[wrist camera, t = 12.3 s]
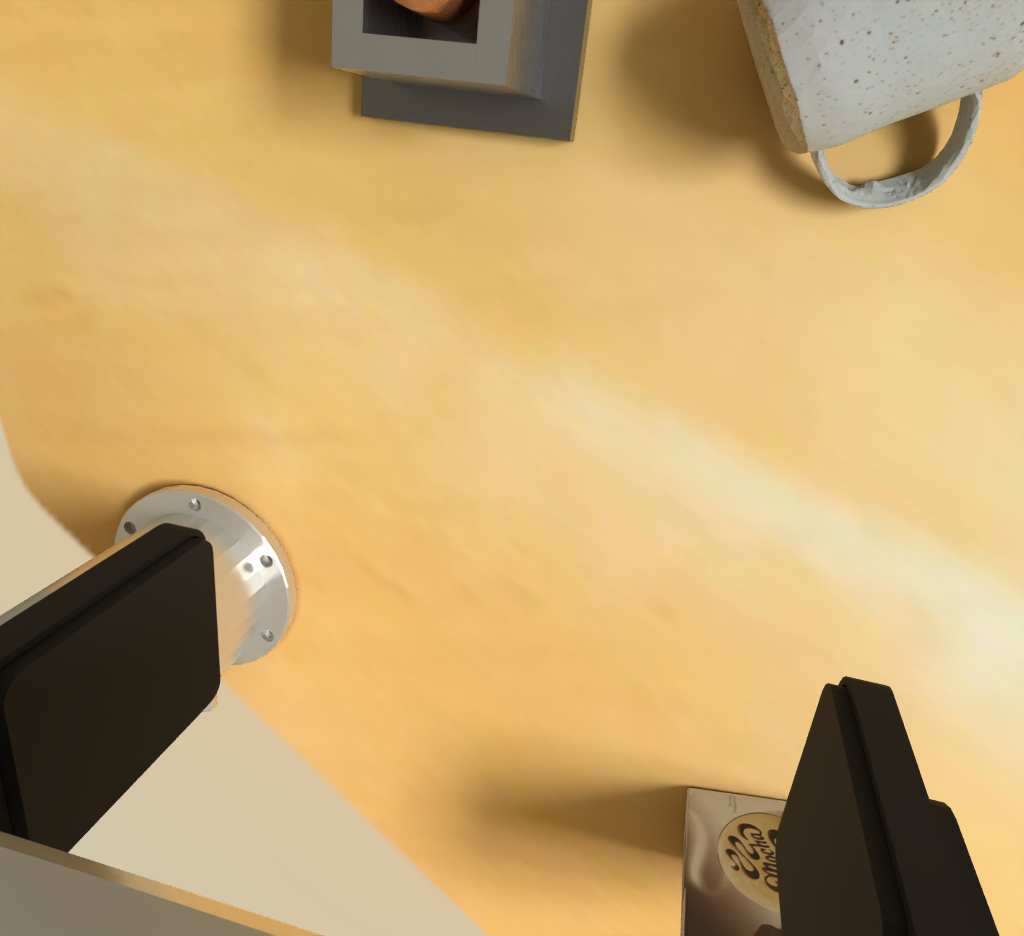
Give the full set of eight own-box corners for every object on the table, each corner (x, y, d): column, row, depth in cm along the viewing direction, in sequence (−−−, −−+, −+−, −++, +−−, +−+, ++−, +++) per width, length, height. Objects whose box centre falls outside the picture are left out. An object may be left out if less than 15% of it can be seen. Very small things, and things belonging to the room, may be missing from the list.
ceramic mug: (723, -6, 31) (725, -51, 24) (938, -125, 28) (1010, -215, 21) (805, 239, 34) (829, 260, 27) (1010, 153, 31) (1095, 153, 24)
